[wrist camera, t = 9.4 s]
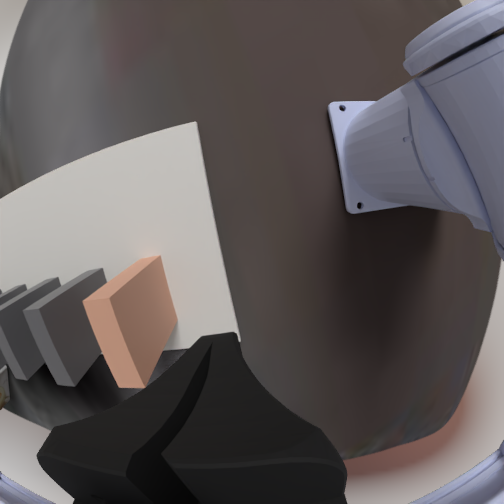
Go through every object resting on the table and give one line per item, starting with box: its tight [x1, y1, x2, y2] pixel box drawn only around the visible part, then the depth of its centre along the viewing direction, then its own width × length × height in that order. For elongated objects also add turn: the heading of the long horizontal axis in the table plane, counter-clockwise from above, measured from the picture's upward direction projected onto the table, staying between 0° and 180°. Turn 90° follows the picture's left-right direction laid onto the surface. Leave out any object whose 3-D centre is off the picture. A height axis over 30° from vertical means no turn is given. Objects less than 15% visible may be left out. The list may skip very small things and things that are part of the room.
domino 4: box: [82, 255, 178, 388], centre depth 15 cm, size 2×5×8 cm, turn 10°
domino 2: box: [0, 277, 61, 380], centre depth 15 cm, size 2×5×8 cm, turn 10°
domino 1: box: [0, 284, 27, 369], centre depth 15 cm, size 2×5×8 cm, turn 10°
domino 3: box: [23, 268, 107, 386], centre depth 15 cm, size 2×5×8 cm, turn 10°
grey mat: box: [0, 122, 241, 354], centre depth 19 cm, size 28×16×1 cm, turn 100°
